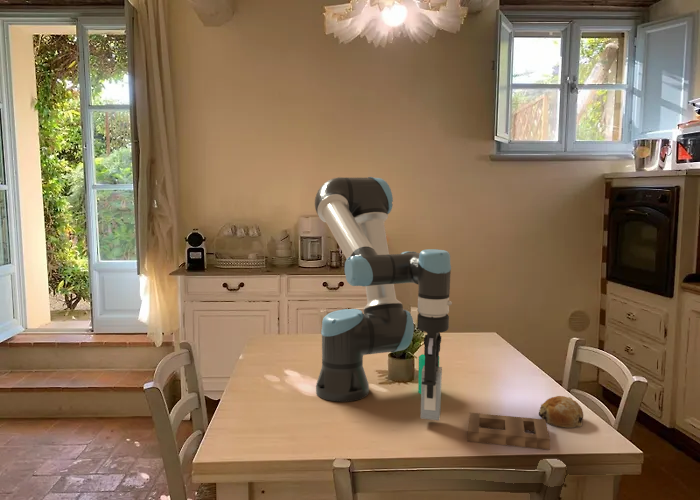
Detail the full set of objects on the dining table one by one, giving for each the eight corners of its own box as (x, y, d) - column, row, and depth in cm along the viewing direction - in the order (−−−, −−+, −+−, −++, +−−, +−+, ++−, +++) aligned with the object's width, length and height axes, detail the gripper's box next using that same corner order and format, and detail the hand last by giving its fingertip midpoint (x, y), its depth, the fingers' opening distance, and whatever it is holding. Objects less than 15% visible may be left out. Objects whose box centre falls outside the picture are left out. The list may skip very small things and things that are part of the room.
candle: (441, 390, 163) (442, 349, 162) (435, 397, 158) (436, 355, 157) (421, 387, 166) (422, 347, 164) (415, 393, 160) (415, 352, 159)
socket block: (467, 441, 131) (467, 430, 130) (469, 422, 141) (469, 412, 141) (549, 449, 126) (549, 439, 126) (544, 429, 137) (545, 419, 137)
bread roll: (569, 445, 137) (586, 419, 134) (531, 419, 141) (546, 394, 138) (577, 429, 145) (592, 405, 143) (540, 406, 149) (555, 382, 147)
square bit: (420, 418, 139) (421, 371, 137) (422, 411, 143) (423, 365, 141) (438, 420, 138) (440, 373, 136) (440, 412, 142) (441, 367, 140)
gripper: (446, 323, 127) (443, 421, 131) (451, 306, 144) (448, 393, 147) (413, 321, 129) (411, 418, 132) (422, 304, 146) (419, 390, 149)
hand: (430, 405), depth 140 cm, fingers closed on square bit, 4 cm apart
